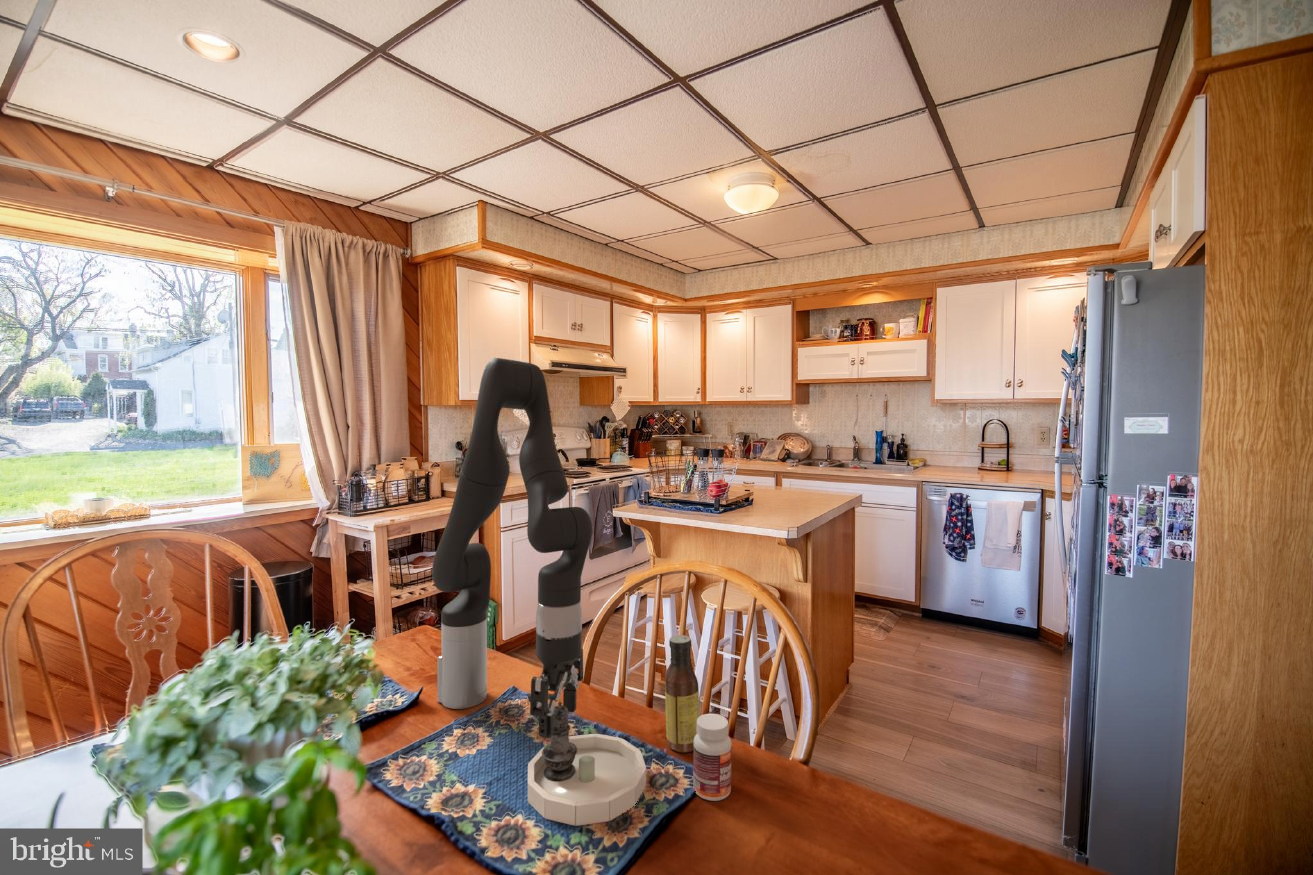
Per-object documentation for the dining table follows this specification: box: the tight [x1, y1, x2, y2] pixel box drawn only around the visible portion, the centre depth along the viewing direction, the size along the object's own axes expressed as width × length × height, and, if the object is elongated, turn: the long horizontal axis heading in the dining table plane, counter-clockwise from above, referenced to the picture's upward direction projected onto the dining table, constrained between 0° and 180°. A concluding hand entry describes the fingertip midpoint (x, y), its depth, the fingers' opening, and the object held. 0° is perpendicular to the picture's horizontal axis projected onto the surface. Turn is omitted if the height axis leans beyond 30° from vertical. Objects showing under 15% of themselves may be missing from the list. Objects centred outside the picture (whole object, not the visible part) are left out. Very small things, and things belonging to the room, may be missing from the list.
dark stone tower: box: [542, 700, 577, 782], centre depth 96 cm, size 6×6×12 cm
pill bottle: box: [692, 713, 732, 802], centre depth 93 cm, size 6×6×11 cm
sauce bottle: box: [664, 634, 700, 753], centre depth 105 cm, size 7×6×20 cm
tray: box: [527, 733, 647, 827], centre depth 94 cm, size 19×19×4 cm
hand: (558, 723), depth 95 cm, fingers open, 8 cm apart
